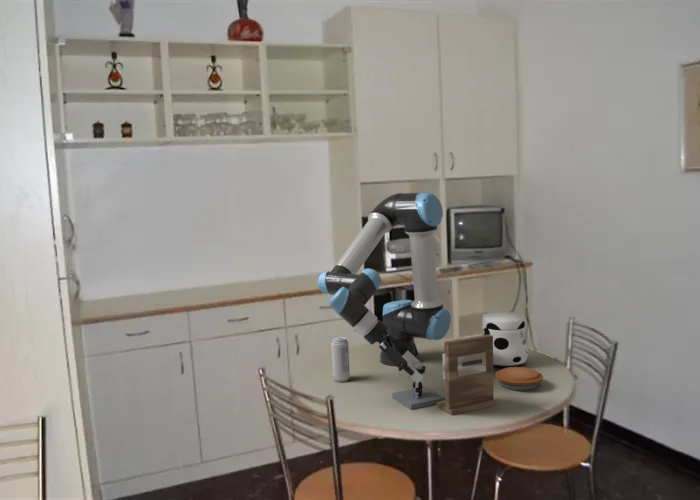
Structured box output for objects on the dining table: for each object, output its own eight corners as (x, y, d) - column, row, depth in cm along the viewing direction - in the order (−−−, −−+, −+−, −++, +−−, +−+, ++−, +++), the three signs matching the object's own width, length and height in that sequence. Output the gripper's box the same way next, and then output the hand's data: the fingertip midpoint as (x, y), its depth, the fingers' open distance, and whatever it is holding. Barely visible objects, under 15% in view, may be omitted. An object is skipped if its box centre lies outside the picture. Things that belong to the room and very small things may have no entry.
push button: (424, 399, 195) (424, 368, 194) (407, 398, 196) (406, 367, 195) (427, 392, 201) (426, 362, 200) (410, 391, 202) (409, 361, 201)
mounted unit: (434, 405, 194) (432, 337, 192) (477, 395, 200) (475, 330, 198) (451, 415, 185) (450, 344, 183) (495, 405, 192) (494, 336, 189)
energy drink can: (339, 376, 226) (337, 335, 224) (353, 378, 222) (351, 337, 221) (329, 381, 221) (327, 339, 219) (343, 383, 218) (341, 341, 216)
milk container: (537, 364, 231) (537, 316, 229) (505, 373, 222) (505, 323, 220) (502, 354, 245) (501, 309, 243) (470, 363, 236) (469, 316, 234)
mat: (392, 397, 202) (392, 393, 202) (424, 391, 207) (424, 386, 207) (411, 409, 191) (410, 404, 191) (444, 402, 196) (444, 397, 196)
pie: (515, 396, 199) (514, 381, 198) (486, 382, 213) (485, 368, 213) (553, 388, 205) (553, 373, 204) (522, 375, 219) (522, 361, 219)
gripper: (364, 326, 210) (411, 369, 211) (360, 346, 185) (412, 395, 186) (380, 310, 209) (426, 354, 210) (377, 329, 184) (430, 377, 185)
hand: (420, 373), depth 198 cm, fingers open, 13 cm apart
